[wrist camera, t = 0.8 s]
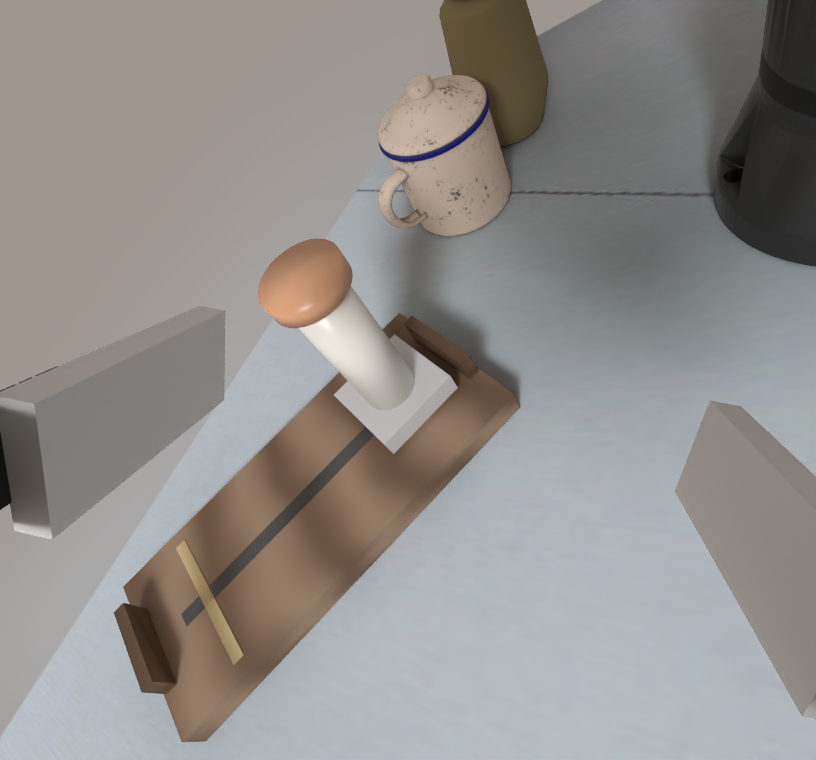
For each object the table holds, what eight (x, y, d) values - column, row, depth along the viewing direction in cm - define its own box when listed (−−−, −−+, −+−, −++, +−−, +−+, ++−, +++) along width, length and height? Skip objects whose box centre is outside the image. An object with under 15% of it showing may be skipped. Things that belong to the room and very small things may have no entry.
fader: (402, 346, 39) (311, 216, 29) (457, 387, 35) (375, 255, 25) (343, 405, 38) (230, 292, 28) (393, 454, 34) (282, 344, 24)
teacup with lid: (462, 158, 51) (418, 36, 42) (536, 180, 46) (503, 46, 37) (377, 244, 50) (312, 136, 41) (444, 278, 44) (386, 162, 35)
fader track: (409, 328, 43) (388, 296, 40) (520, 407, 35) (505, 376, 32) (144, 592, 39) (99, 580, 36) (205, 741, 32) (155, 742, 29)
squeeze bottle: (456, 136, 53) (381, -72, 40) (522, 89, 53) (470, -137, 39) (501, 168, 48) (433, -59, 34) (574, 115, 48) (535, -134, 34)
